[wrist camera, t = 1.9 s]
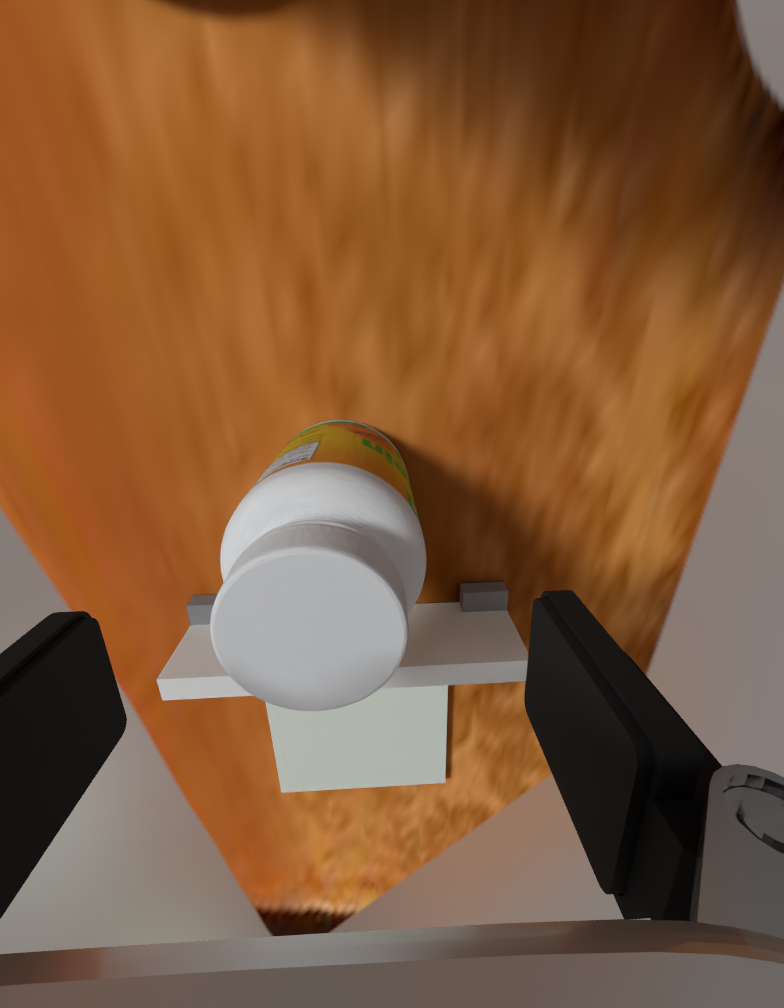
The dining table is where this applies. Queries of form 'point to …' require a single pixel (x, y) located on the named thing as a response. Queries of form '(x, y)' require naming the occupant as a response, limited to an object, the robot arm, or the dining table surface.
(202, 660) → the low wall
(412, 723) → the mat
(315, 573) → the supplement bottle
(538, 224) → the dining table surface
